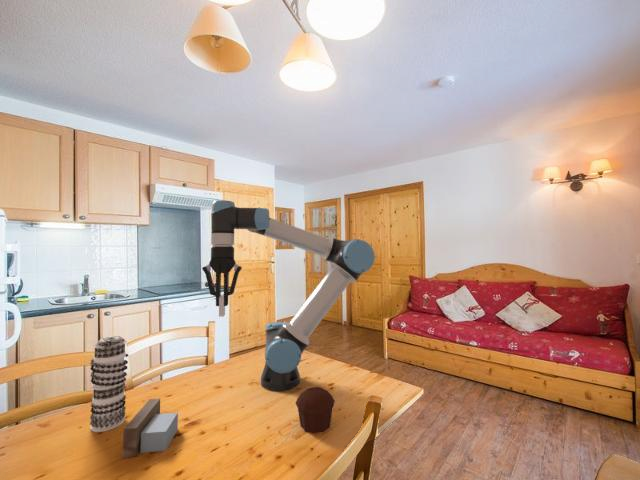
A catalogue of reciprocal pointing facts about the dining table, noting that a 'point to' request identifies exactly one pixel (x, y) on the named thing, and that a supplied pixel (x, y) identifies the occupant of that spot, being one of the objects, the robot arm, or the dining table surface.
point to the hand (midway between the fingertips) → (221, 315)
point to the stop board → (138, 428)
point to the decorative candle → (108, 384)
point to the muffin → (315, 409)
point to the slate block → (159, 432)
